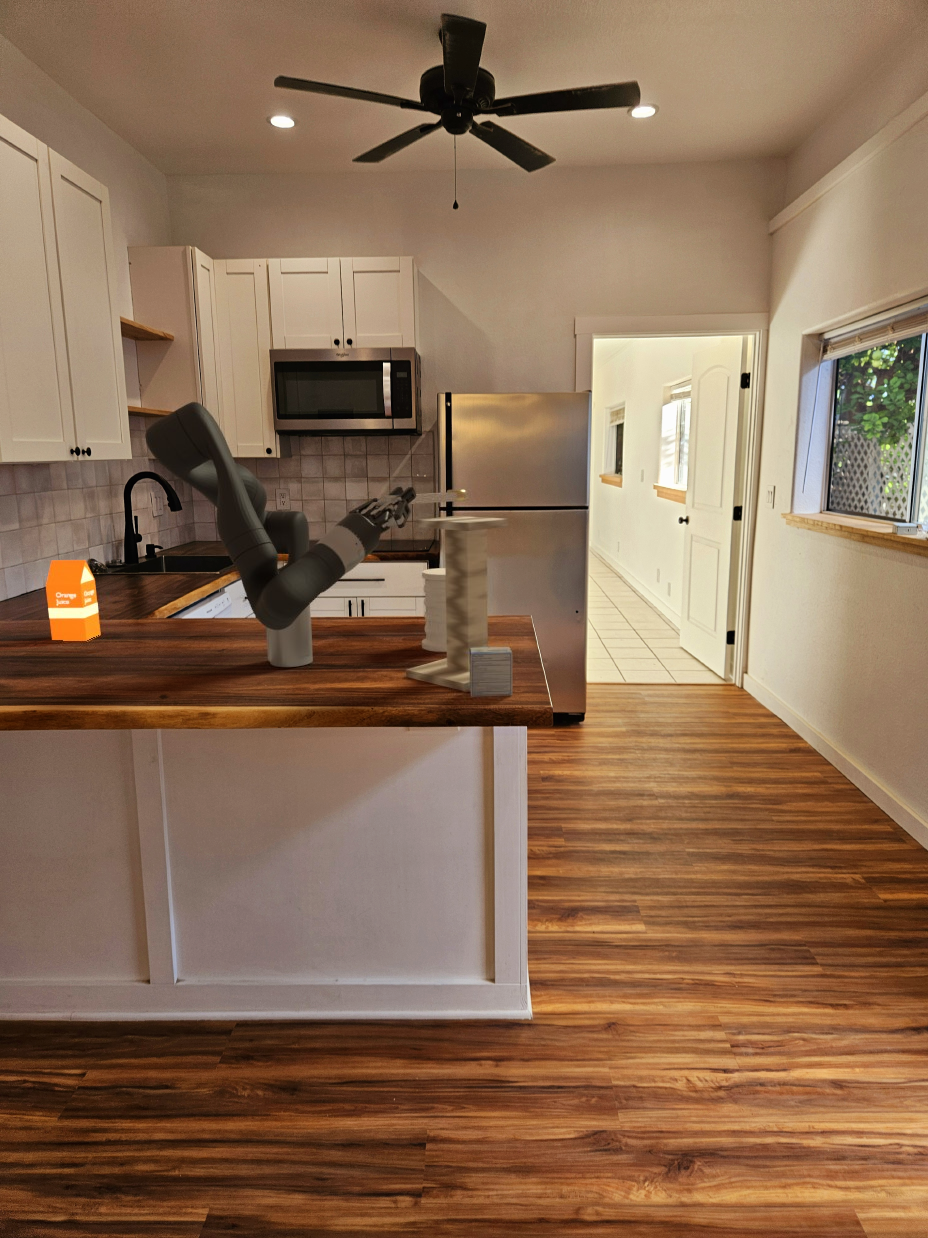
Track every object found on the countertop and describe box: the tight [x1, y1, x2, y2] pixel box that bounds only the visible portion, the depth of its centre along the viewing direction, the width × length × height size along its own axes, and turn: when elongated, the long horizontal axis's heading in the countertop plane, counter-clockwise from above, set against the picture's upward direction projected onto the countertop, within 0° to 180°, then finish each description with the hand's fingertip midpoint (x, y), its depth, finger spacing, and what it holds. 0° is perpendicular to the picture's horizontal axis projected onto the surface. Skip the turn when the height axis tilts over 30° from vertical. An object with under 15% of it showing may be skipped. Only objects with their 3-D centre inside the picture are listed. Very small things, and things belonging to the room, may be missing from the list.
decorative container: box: [421, 567, 447, 653], centre depth 189 cm, size 12×12×18 cm
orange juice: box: [45, 559, 101, 642], centre depth 202 cm, size 8×9×20 cm
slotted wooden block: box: [380, 489, 469, 505], centre depth 151 cm, size 4×21×2 cm, turn 139°
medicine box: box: [469, 646, 513, 698], centre depth 152 cm, size 8×4×9 cm, turn 94°
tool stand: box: [405, 515, 510, 692], centre depth 162 cm, size 16×15×32 cm
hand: (407, 491), depth 147 cm, fingers closed on slotted wooden block, 2 cm apart
